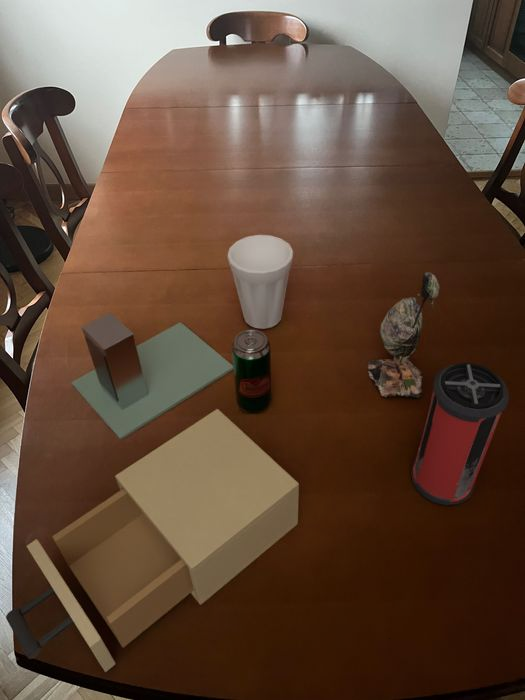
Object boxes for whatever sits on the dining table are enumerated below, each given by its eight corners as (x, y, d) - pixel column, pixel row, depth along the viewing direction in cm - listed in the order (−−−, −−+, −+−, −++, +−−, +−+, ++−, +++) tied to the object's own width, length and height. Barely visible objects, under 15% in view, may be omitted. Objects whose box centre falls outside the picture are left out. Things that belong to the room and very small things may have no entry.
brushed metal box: (121, 410, 84) (103, 350, 75) (99, 387, 87) (80, 327, 79) (148, 394, 86) (133, 333, 77) (126, 372, 89) (110, 311, 81)
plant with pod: (421, 350, 91) (445, 241, 78) (423, 405, 83) (450, 294, 70) (368, 345, 93) (382, 236, 79) (365, 399, 85) (380, 288, 71)
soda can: (240, 418, 83) (234, 357, 74) (233, 391, 86) (228, 331, 78) (275, 411, 83) (274, 350, 75) (267, 385, 87) (265, 325, 79)
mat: (120, 440, 80) (119, 437, 80) (71, 384, 88) (70, 382, 88) (234, 369, 90) (234, 366, 89) (180, 324, 97) (180, 321, 97)
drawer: (60, 709, 56) (40, 686, 52) (2, 604, 64) (-20, 576, 59) (213, 583, 65) (207, 554, 60) (146, 504, 72) (136, 472, 67)
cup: (296, 336, 95) (297, 269, 86) (233, 340, 94) (228, 274, 85) (289, 297, 102) (289, 232, 93) (231, 300, 101) (226, 236, 92)
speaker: (408, 453, 78) (431, 355, 65) (468, 457, 77) (503, 359, 64) (413, 504, 72) (439, 408, 60) (477, 509, 71) (518, 413, 59)
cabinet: (200, 605, 64) (191, 568, 58) (129, 515, 72) (114, 475, 66) (298, 523, 71) (299, 483, 65) (222, 450, 79) (217, 408, 73)
